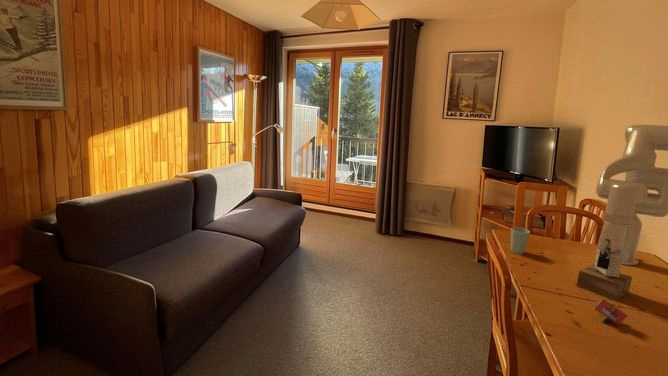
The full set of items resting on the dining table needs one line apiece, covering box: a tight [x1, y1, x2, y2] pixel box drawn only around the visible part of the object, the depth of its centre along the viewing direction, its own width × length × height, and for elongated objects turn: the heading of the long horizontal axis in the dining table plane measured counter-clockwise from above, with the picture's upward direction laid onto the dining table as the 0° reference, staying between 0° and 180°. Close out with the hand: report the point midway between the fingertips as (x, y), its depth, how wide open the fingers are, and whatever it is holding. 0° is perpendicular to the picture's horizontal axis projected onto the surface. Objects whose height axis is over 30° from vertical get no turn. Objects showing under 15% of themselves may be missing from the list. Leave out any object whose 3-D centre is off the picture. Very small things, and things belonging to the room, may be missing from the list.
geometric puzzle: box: [594, 298, 629, 326], centre depth 105 cm, size 7×7×8 cm
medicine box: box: [593, 248, 624, 277], centre depth 125 cm, size 8×4×9 cm, turn 169°
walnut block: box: [576, 264, 633, 302], centre depth 126 cm, size 12×12×6 cm
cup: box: [510, 227, 531, 255], centre depth 160 cm, size 8×8×10 cm
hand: (607, 265), depth 125 cm, fingers closed on medicine box, 8 cm apart
